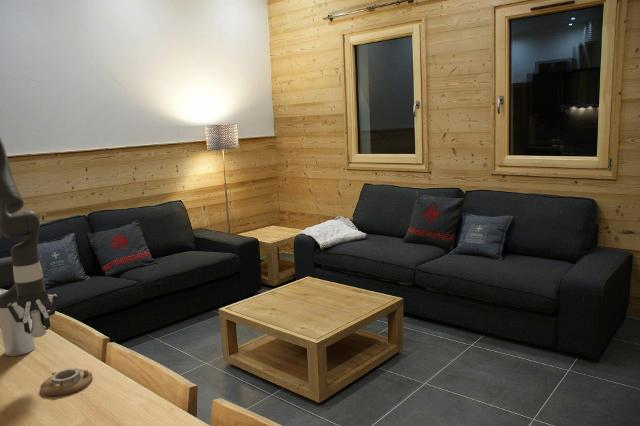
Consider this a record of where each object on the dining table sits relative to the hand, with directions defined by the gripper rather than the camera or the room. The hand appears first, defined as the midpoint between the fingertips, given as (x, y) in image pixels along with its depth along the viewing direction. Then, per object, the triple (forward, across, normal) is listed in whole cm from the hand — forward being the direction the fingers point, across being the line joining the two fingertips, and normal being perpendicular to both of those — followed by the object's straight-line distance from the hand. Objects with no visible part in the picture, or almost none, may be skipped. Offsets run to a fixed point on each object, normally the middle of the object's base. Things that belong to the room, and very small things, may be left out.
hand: (38, 330), depth 165 cm
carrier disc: (+14, -5, +12) cm, 19 cm away
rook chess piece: (+2, 0, 0) cm, 2 cm away
